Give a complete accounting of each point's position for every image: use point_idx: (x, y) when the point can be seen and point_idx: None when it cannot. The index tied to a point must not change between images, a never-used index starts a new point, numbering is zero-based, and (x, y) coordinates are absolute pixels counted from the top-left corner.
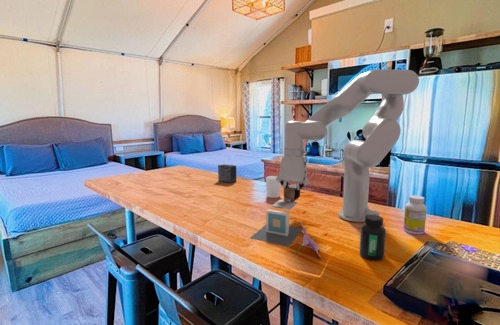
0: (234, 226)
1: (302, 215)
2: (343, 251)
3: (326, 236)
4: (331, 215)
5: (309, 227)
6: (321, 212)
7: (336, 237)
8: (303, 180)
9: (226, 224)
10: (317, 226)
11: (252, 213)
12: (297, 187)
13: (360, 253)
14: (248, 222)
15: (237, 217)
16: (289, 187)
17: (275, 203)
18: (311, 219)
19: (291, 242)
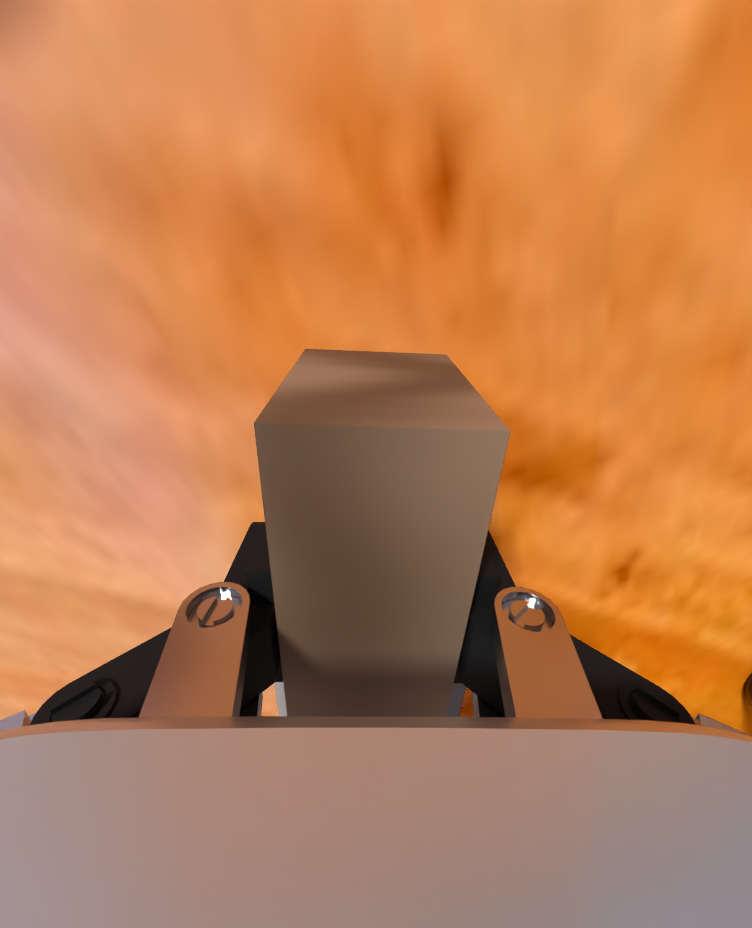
0: (126, 640)
1: (444, 298)
2: (679, 681)
3: (624, 590)
4: (746, 160)
5: (527, 518)
6: (643, 87)
7: (679, 584)
8: (729, 747)
9: (70, 634)
10: (580, 485)
11: (40, 428)
12: (497, 716)
13: (750, 700)
14: (148, 577)
15: (25, 536)
16: (330, 675)
17: (282, 696)
18: (533, 369)
19: (462, 697)
